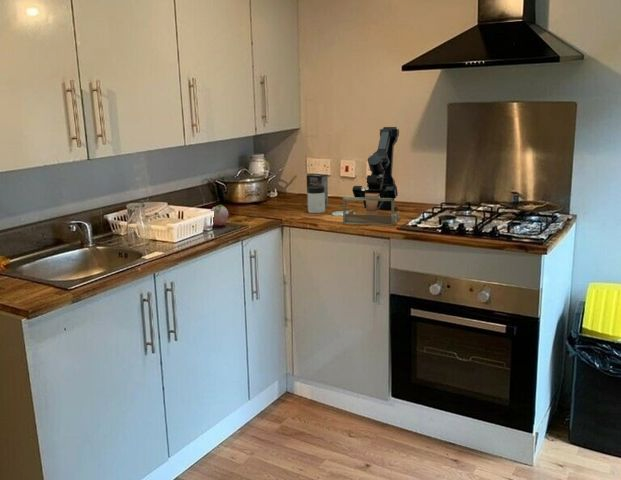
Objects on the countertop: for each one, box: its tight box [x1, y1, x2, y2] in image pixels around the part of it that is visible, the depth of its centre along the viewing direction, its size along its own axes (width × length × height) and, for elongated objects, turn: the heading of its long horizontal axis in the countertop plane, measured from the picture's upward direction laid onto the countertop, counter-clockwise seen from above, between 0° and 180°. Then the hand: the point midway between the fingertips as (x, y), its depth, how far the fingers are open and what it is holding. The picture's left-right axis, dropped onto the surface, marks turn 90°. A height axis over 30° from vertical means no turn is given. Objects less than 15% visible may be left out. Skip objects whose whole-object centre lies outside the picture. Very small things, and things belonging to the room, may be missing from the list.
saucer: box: [331, 210, 356, 217], centre depth 297 cm, size 11×11×1 cm
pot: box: [365, 192, 380, 215], centre depth 277 cm, size 6×6×12 cm
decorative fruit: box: [210, 204, 229, 227], centre depth 278 cm, size 9×8×10 cm
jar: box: [306, 186, 326, 214], centre depth 305 cm, size 9×8×12 cm
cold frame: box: [342, 196, 401, 227], centre depth 277 cm, size 16×22×12 cm
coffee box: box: [306, 173, 329, 208], centre depth 318 cm, size 9×6×16 cm
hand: (371, 207), depth 276 cm, fingers closed on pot, 5 cm apart
